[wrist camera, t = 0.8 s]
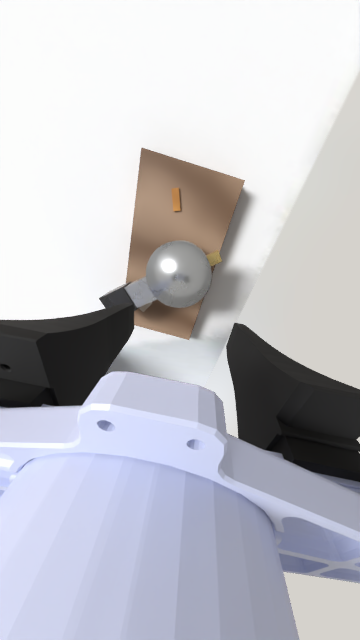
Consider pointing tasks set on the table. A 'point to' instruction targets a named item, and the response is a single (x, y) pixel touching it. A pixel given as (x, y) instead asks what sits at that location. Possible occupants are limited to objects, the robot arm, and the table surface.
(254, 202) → the table surface
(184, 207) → the mounting board
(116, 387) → the robot arm
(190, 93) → the table surface
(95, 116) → the table surface
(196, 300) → the silver saucepan
